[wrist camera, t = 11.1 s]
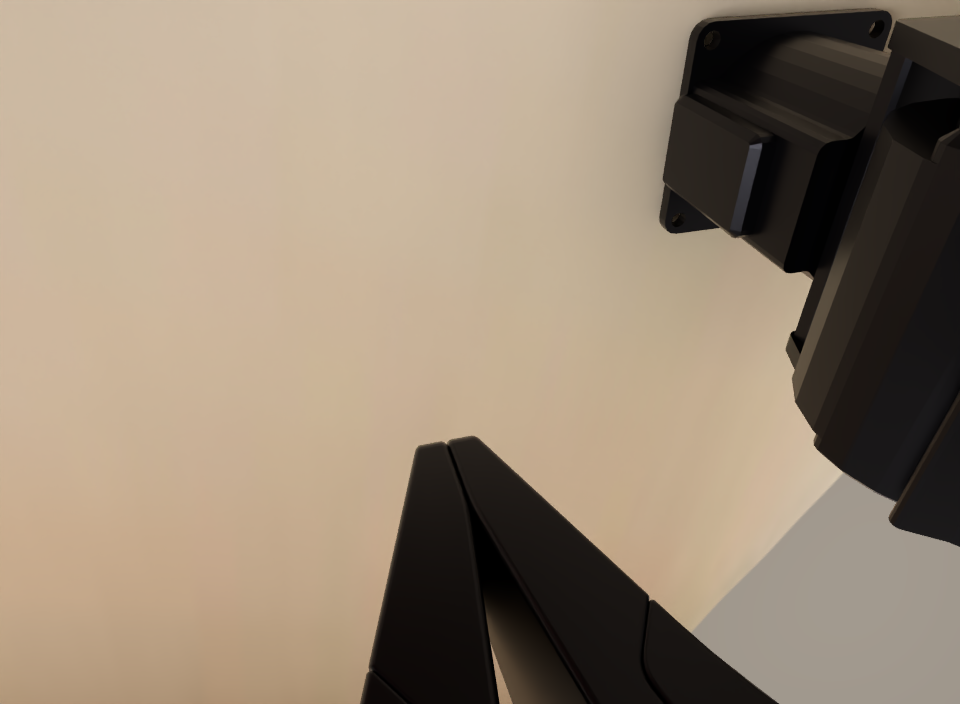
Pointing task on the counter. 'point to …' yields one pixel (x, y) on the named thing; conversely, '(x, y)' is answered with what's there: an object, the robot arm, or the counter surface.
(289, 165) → the counter surface
